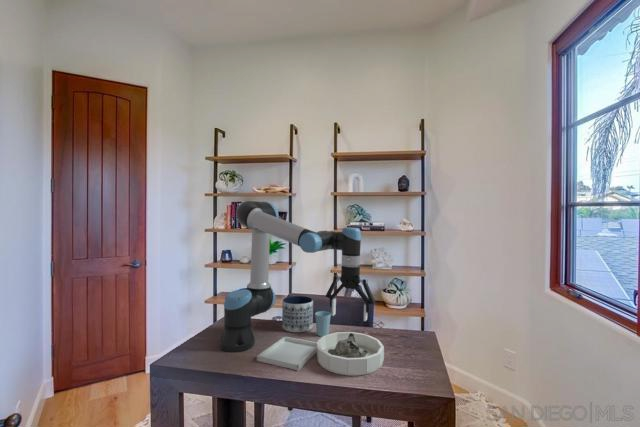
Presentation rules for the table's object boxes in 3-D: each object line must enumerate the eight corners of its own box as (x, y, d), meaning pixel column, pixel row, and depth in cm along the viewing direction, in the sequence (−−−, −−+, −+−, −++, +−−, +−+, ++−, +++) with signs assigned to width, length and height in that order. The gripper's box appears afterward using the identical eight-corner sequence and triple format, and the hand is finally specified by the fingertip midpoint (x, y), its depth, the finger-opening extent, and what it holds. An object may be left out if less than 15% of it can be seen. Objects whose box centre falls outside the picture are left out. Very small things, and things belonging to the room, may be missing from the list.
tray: (256, 360, 124) (256, 355, 124) (284, 340, 144) (284, 336, 144) (298, 370, 117) (298, 365, 117) (321, 347, 137) (321, 343, 137)
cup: (333, 336, 150) (333, 314, 150) (318, 339, 147) (318, 316, 147) (326, 331, 157) (326, 310, 157) (312, 333, 154) (312, 312, 154)
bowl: (306, 366, 119) (306, 351, 119) (331, 341, 144) (331, 328, 144) (373, 382, 109) (373, 364, 109) (388, 352, 133) (388, 338, 133)
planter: (317, 324, 166) (317, 297, 166) (304, 335, 151) (304, 305, 151) (291, 320, 172) (291, 294, 172) (276, 329, 158) (276, 301, 158)
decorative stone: (326, 360, 121) (328, 332, 124) (328, 355, 130) (330, 330, 132) (367, 364, 119) (368, 337, 121) (366, 359, 128) (368, 334, 130)
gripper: (318, 263, 128) (317, 315, 128) (378, 270, 118) (377, 325, 118) (325, 261, 135) (324, 310, 135) (383, 267, 125) (381, 319, 125)
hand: (349, 317), depth 127 cm, fingers open, 13 cm apart
